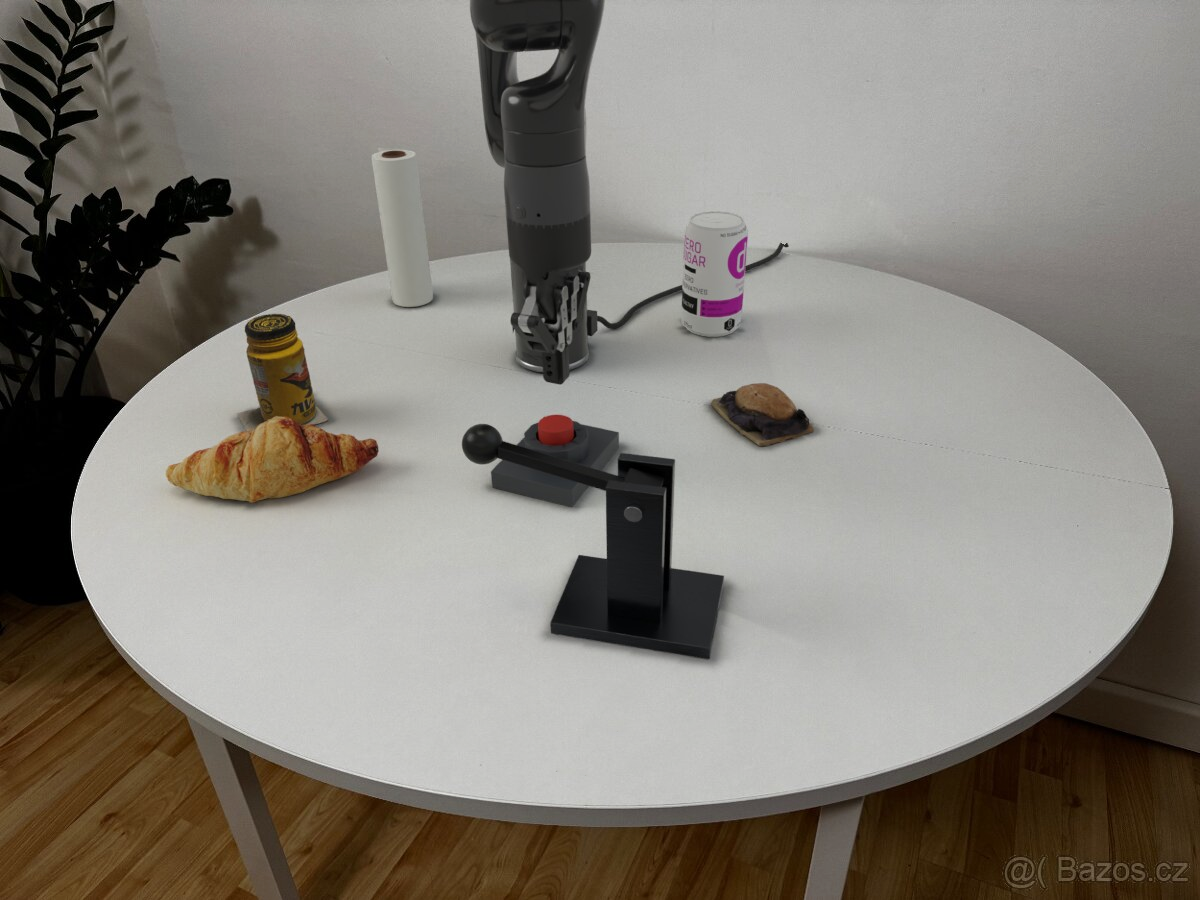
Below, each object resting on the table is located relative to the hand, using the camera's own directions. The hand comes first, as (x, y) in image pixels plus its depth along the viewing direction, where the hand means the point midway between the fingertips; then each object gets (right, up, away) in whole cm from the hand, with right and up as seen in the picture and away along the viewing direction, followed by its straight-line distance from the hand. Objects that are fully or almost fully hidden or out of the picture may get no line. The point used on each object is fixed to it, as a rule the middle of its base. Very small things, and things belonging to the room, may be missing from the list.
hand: (556, 379), depth 89 cm
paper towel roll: (-23, +15, +45) cm, 53 cm away
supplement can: (+20, +10, +35) cm, 41 cm away
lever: (+1, -10, -18) cm, 21 cm away
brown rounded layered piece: (+23, -3, +13) cm, 26 cm away
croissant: (-29, -10, +4) cm, 31 cm away
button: (0, -6, +3) cm, 7 cm away
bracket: (+8, -20, -13) cm, 26 cm away
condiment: (-32, -3, +15) cm, 36 cm away
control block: (0, -9, +5) cm, 10 cm away
